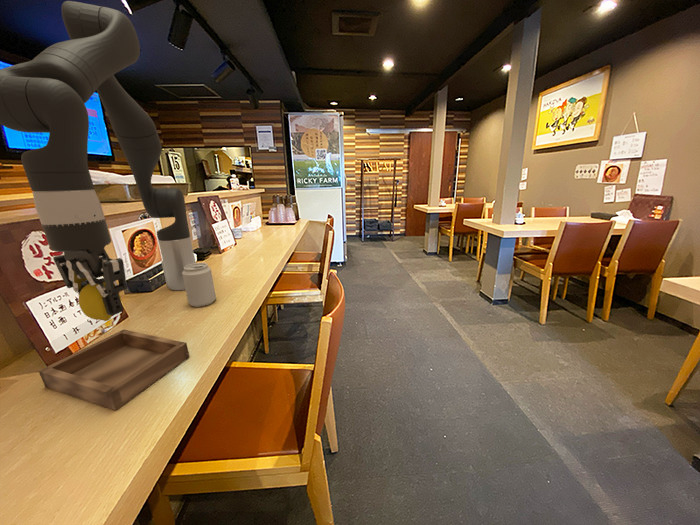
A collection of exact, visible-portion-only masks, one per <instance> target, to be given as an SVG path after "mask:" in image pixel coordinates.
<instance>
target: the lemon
mask: <svg viewBox="0 0 700 525" xmlns="http://www.w3.org/2000/svg"><path fill="white" fill-rule="evenodd" d="M103 285H104V287H105V288H106V284H105V283H103ZM119 296H120V300H121V301H122V298H121V295H120V293H119ZM102 297H103V296H102V295H101V294H100V292H99V291H98V289H97V287H96V286H92V285H91V284H88V285H86V286H85V287H84V288H83V289H82V290H81V292H80V294H78V305H79V309H80V310H81V312H82V313H83V314H84V315H85V317H87V318H90V319H92V320H98V321H99V320H100V321H104V322H108V321H110V320H111V318H112V317H113V316H111V315H108V314H107V312H106V309H105V306H104V303H103V299H102Z"/></svg>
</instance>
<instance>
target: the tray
mask: <svg viewBox="0 0 700 525" xmlns="http://www.w3.org/2000/svg"><path fill="white" fill-rule="evenodd" d="M189 352H190V351H189V348H188V344H187V342H185V341H180V340H174V339H170V338H165V337H160V336H157V335H151V334H146V333H142V332H138V331H133V330H127V329H121V330H120V331H117V332H115V333H113V334H112V335H109V336H107V337H105V338H103V339H101V340H99V341H97V342H94V343H92V344H91V345H89V346H87V347H85V348H83V349H80V350H79V351H77V352H74V353H72V354H70V355H68V356H66V357H64V358H62V359H60V360H58V361H56V362H54V363H51V364H50V365H47V366H45V367H43V368H42V369H39V370H38V373H39V376H40V378H41V380H42V382H43V385H44V387H45V388H47V389H50V390H54V391H56V392H59V393H62V394H66V395H68V396H71V397H74V398H76V399H80V400H83V401H86V402H88V403H92V404H94V405H98V406H101V407H104V408H106V409H109V410H112V411H115V412H116V411H118V410H119V409H120V408H122V407H123V406H125V405H126V404H127V403H129V402H130V401H132V400H133V399H135V397H137V396H138V395H140V394H141V393H143V392H144V391H145V390H147V389H148V388H149V387H150V386H152V385H153V384H154V383H156V382H157V381H159V380H160V379H162V378H163V377H165V376H166V375H167V374H169V373H170V372H172V371H173V370H174V369H175V368H177V367H178V366H180V365H181V364H182V363H184V362H185V361H187V360H188V359H189V358H190V353H189Z"/></svg>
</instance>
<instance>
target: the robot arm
mask: <svg viewBox="0 0 700 525" xmlns="http://www.w3.org/2000/svg"><path fill="white" fill-rule="evenodd" d="M61 17H62V21H63V25H64V27H65V29H66V33H67V35H68V37H69V39H68V40H63V41H59V42H56V43H53V44H52V45H50V46H48V47H46V48H45V49H44V50H43V51H41V52H40V53H39V54H37V55H36V56H35V57H34V58H33V59H32V60H29V61H25V62H21V63H17V64H13V65H10V66H7V67H3V68H0V125H1V126H2V127H4V128H8V129H9V130H12V131H15V132H16V131H17V132H22V133H36V134H37V133H39V134H40V133H41V134H42V133H43V134H45V133H47V134H48V133H49V135H48V140H47V143H46V145H45V146H43V147H39V148H35V149H29V150H26V151H24V152H22V154H21V155H20V156H21V157H20V159H21V164H22V166H23V170H24V173H25V175H26V178H27V181H28V184H29V186H30V189H31V191H32V196H33V202H34V208H35V210H36V214H37V215H38V216H37V217H38V218H39V221H40V223H41V227H42V230H43V233H44V235H45V238H46V241H47V244H48V246H49V249H50V250H51V251H54V252H57V253H63V254H60V255H56V256H55V255H54V256H53V258H52V259H53V262H54V263H55V266H56V267H57V271H58V272H59V274H60V276H61V278H62V280H63V282H64V284H65V287H66V288H67V289H72V290H73V291H74V292H75V293H77V295H79V294H80V292H81V290H82V289H83V288H84V287H85V286H86V285H88V284H91V285H92V286H96V287H97V289H98V291H99V292H100V294H101V295H102V296H103V297H102V299H103V303H104V306H105V309H106V312H107V314H108V315H111V316H112V317H114V316H115V315H118V314H120V313H122V312H123V311H124V308H123V307H124V306H123V303H122V299H121V300H120V297H121V295H120V296H119V294H120V293H121V292H122V291H125V290H128V285H127V278H126V273H125V264H124V260H123V259H122V258H121V257H119V258H114V259H113V258H110V256H109V254H108V252H107V251H106V249H105V247H106V246H108V245H110V244H111V243H112V238H111V235H110V232H109V227H108V225H107V221H106V217H105V214H104V211H103V206H102V204H101V201H100V198H98V197H99V196H98V195H97V193H96V190H95V186H94V182H93V180H92V175H91V173H90V169H89V166H88V153H89V152H88V148H89V147H88V144H89V143H88V142H89V128H90V124H89V123H90V120H89V119H90V118H89V112H88V109H87V106H86V103H87V102H88V101H89V100H90V99H91V97H93V95H94V93H97V94H98V97H99V98H100V101H101V103H102V106H103V107H104V110H105V112H106V115H107V117H108V120H109V123H110V125H111V128H112V131H113V133H114V135H115V138H116V140H117V142H118V144H119V146H120V148H121V152H122V153H123V155H124V157H125V159H126V162H127V164H128V166H129V169H130V171H131V173H132V175H133V179H134V181H135V184H136V187H137V190H138V194H139V196H140V200H141V203H142V205H143V207H144V210H145V212H146V213H147V215H148V216H150V217H151V218H153V219H164V218H165V219H166V218H167V219H168V218H174V222H173V223H172V224H169V226H166V227H163V228H160V229H158V230H157V231H156V237H157V241H158V246H159V249H160V254H161V259H162V260H161V266H162V270H163V274H164V279H165V282H166V283H165V284H166V287H167V288H169V290H171V291H186V289H185V284H184V280H183V275H182V272H183V271H184V267H185V266H187V265H189V264H194V263H197V262H196V257H195V253H194V248H193V244H192V238H191V233H190V227H189V221H188V216H187V207H186V201H185V197H184V194H183V192H182V190H181V189H180V188H176V187H160V188H158V187H157V188H155V187H153V185H152V184H153V183H152V178H153V174H154V171H155V168H156V166H157V165H158V163H159V160H160V158H161V155H162V152H163V151H162V150H163V146H162V142H161V139H160V136H159V134H158V130H157V127H156V124H155V122H154V121H153V119H152V117H150V115H149V114H148V113H147V112H146V111H145V109H143V107H142V106H141V105H139V104H138V102H137V101H136V100H134V98H133V97H132V96H131V95H130V94H129V93H128V92H127V91H126V90H125V89H124V88H123V87H122V84H120V83H119V81H118V80H117V78H116V76H115V74H117V73H119V72H120V71H122V70H124V69H125V68H127V67H129V66H132V65H134V64H135V63H136V62H137V61H138V60H139V57H140V53H141V47H140V41H139V38H138V34H137V31H136V29H135V26H134V25H133V23H132V21H131V19H129V17H128V16H127V15H126V14H124V13H123V12H121V11H120V10H117V9H114V8H111V7H108V6H107V7H106V6H100V5H96V4H90V3H84V2H80V1H74V0H66V1H63V3H62V4H61ZM101 277H102V278H101ZM117 281H118V282H117ZM103 283H105V284H106V288H105V287H104V285H103Z"/></svg>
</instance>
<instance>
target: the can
mask: <svg viewBox="0 0 700 525" xmlns="http://www.w3.org/2000/svg"><path fill="white" fill-rule="evenodd" d="M182 275H183V280H184V284H185V293H186V299H187V303H188V305H190V306H192V307H194V308H195V307H196V308H202V307H206V306H209V305H211V304H212V303H214V301H215V300H216V299H217V296H216V291H215V290H216V289H215V285H214V280H213V279H214V278H213V274H212V268H211V267H210V266H209V265H208V263H206V262H196V263H194V264H189V265H187V266H185V267H184V271H183V272H182ZM205 305H206V306H205ZM201 306H202V307H201Z"/></svg>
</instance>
